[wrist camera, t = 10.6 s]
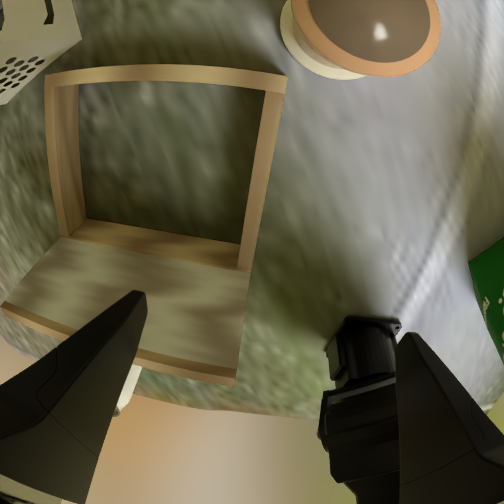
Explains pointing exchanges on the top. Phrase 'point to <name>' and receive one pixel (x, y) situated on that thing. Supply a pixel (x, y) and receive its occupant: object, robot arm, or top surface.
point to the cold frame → (146, 243)
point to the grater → (34, 38)
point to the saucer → (302, 56)
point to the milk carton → (491, 291)
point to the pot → (367, 34)
